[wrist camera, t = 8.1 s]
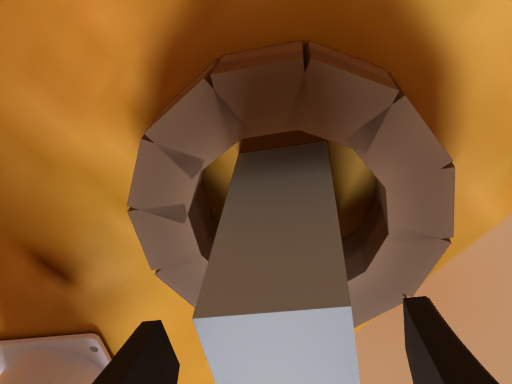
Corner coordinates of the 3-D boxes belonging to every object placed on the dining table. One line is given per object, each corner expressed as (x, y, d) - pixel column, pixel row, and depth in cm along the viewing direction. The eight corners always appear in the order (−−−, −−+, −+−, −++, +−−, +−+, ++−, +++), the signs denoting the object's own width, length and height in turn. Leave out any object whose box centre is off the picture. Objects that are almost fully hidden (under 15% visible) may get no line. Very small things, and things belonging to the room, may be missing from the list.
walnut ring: (433, 279, 22) (451, 323, 20) (193, 302, 24) (181, 344, 22) (432, 14, 16) (458, 28, 13) (112, 76, 18) (81, 99, 16)
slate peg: (336, 216, 21) (362, 409, 12) (255, 225, 22) (226, 414, 13) (326, 141, 19) (351, 306, 10) (238, 153, 20) (192, 318, 11)
